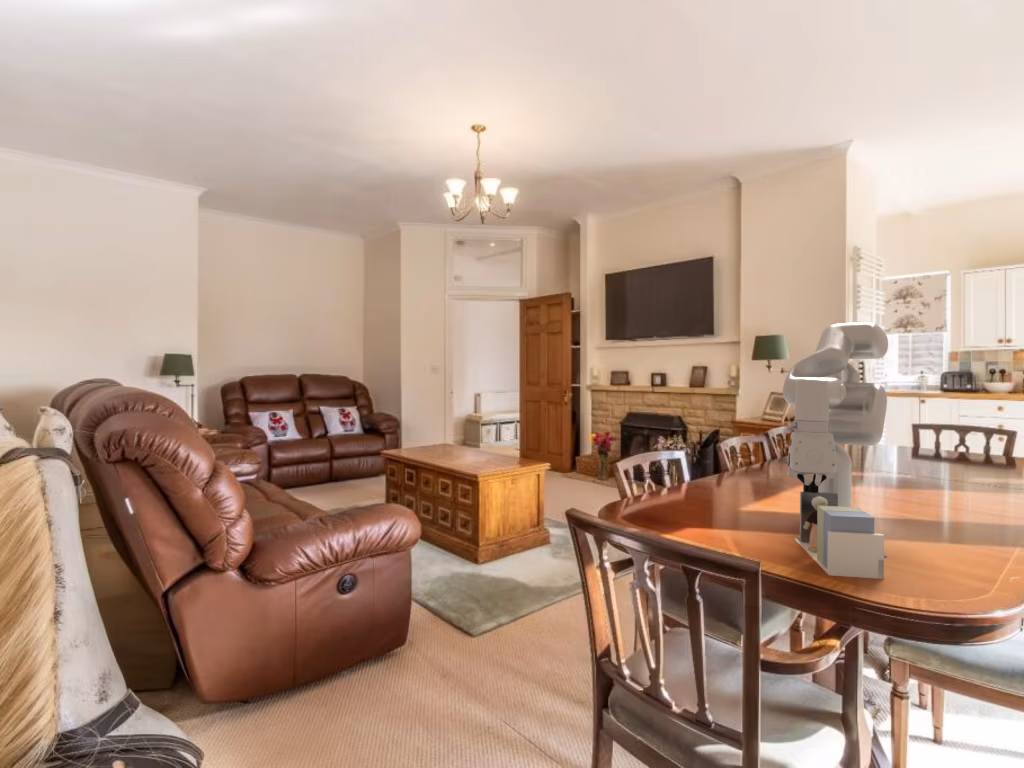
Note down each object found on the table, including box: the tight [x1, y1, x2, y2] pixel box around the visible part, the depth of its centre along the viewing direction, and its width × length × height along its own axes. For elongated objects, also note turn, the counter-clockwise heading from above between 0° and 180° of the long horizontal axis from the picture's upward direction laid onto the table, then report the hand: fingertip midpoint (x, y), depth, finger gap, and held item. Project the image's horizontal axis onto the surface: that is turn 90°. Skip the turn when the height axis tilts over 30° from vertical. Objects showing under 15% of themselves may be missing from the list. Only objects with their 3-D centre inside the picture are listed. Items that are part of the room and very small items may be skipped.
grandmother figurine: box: [803, 496, 828, 553], centre depth 125 cm, size 8×4×13 cm, turn 113°
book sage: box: [817, 506, 866, 566], centre depth 117 cm, size 4×8×12 cm, turn 78°
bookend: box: [796, 491, 838, 542], centre depth 132 cm, size 3×8×12 cm, turn 78°
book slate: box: [824, 511, 875, 569], centre depth 113 cm, size 4×8×12 cm, turn 78°
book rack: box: [794, 531, 885, 580], centre depth 122 cm, size 24×10×10 cm, turn 168°
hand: (810, 500), depth 136 cm, fingers closed
